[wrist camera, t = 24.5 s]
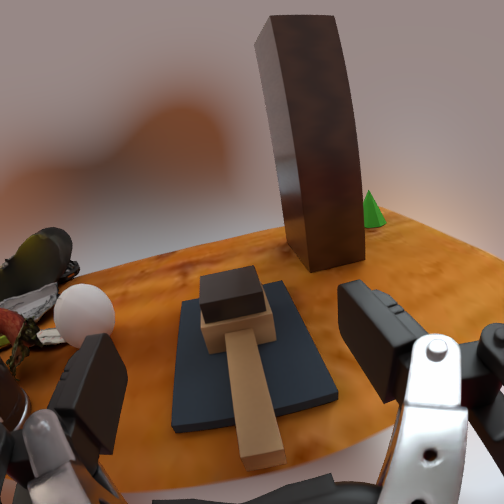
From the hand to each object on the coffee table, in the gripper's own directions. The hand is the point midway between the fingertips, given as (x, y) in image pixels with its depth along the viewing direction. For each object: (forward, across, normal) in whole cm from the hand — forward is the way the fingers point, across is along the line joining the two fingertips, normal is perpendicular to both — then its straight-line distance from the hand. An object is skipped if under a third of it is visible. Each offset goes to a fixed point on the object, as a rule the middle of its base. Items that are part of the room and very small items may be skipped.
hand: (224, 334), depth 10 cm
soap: (+21, +25, +10) cm, 34 cm away
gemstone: (+38, -26, +12) cm, 48 cm away
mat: (+14, 0, +12) cm, 18 cm away
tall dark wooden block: (+31, -14, +12) cm, 36 cm away
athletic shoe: (+33, +37, +2) cm, 50 cm away
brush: (+9, 0, +11) cm, 14 cm away
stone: (+30, +40, +10) cm, 51 cm away
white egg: (+23, +16, +7) cm, 28 cm away
